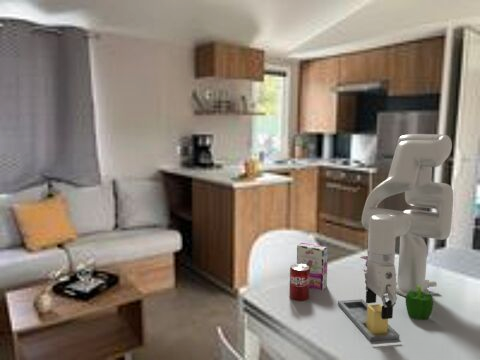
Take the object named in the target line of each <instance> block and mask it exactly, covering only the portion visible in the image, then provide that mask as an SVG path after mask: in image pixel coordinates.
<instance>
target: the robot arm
mask: <svg viewBox="0 0 480 360" xmlns="http://www.w3.org/2000/svg"><path fill="white" fill-rule="evenodd" d="M452 145H453V143H452V139H451V138H450V136H449V135H447V134H435V133H434V134H433V133H432V134H431V133H428V134H427V133H408V134H404V135H401V136H399V137H398V140H397V146H396V147H395V150H394V154H393V158H392V161H391V164H390V168H389V171H388V176H387V177H386V179H385V180H383V181H382V182H381V183H379V184H378V185H377V186H375V187H374V188H373V189H372V190H371V192H370V193H369V194H368V196H367V198H366V200H365V204H364V207H363V210H362V213H361V214H362V215H361V225H362V228H364V230H367V231H368V236H367V237H368V241H367V242H368V243H367V249H368V254H367V256H368V264H367V265H366V272H364V279H365V281H364V282H365V283H364V284H365V290H366V292H365V302H366V303H367V304H376V303H377V297H379V298H381V302H382V314H381V318H382V319H388V320H391V319H393V314H394V313H393V312H394V307H395V305H396V304H397V302H396V301H398V296H397V294H399V295H401V296H404V297H406V296H407V294H408V292H409V291H410V290H412V291H418V288H417V287H416V286H417V285H418V286H420V287H421V291H422V292H424V293H425V294H429V295H430V292H429V291H430V290H429V289H428V288H432V287H438V286H437V285H438V284H437V281H433V280H432V281H430V279H426V272H427V261H428V260H427V258H428V247H427V244H426V242H425V240H424V239H423V238H427V239H428V238H429V239H434V240H441V241H443V240H446V239H448V238H449V237H450V235H451V230H452V222H453V221H452V220H453V219H452V218H453V207H454V190H453V187H452V185H450V184H448V183H445V182H444V183H443V182H434V181H432V176H433V168H437V167H440V166H441V165H442V164H444V162H445V161H446V160H447V159H448V158H449V157H450V155H451V152H452V148H453V146H452ZM401 193H404V200H405V203H406V204H407V205H409V206H411V207H418V208H419V207H420V208H426V209H434V210H436V212H435V211H427V210H421V209H405V210H403V211H402V210H395V209H388V208H382V207H378V206H379V204H380V203H381V202H382V201H383V200H385V199H386V198H388V197H391V196H395V195H398V194H401ZM397 237H399V254H398V271H397V272H396V266H395V259H396V258H395V257H396V238H397ZM396 273H397V274H396ZM386 299H388V300H386Z"/></svg>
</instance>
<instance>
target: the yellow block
mask: <svg viewBox="0 0 480 360" xmlns="http://www.w3.org/2000/svg"><path fill="white" fill-rule="evenodd" d="M382 306H383V304H382V303H381V304H368V305H367V321H366V328H367V329H368V330H369V331H370V332H371V334H377V333H387V329H388V324H389V319H382V318H381V314H382Z"/></svg>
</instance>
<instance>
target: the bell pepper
mask: <svg viewBox="0 0 480 360" xmlns="http://www.w3.org/2000/svg"><path fill="white" fill-rule="evenodd" d="M416 287H417V288H418V291H412V290H410V291H409V292H408V294H407V296H405V306H406V311H407V314H408V316H409V317H411V318H412V319H413V318H414V319H416V320H427V319H428V318H430V317H431V313H432V311H433V308H434V299H433V296H432V294H430V293H429V294H425V293H424V292H422V291H421V287H420V286H418V285H417V286H416Z"/></svg>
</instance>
